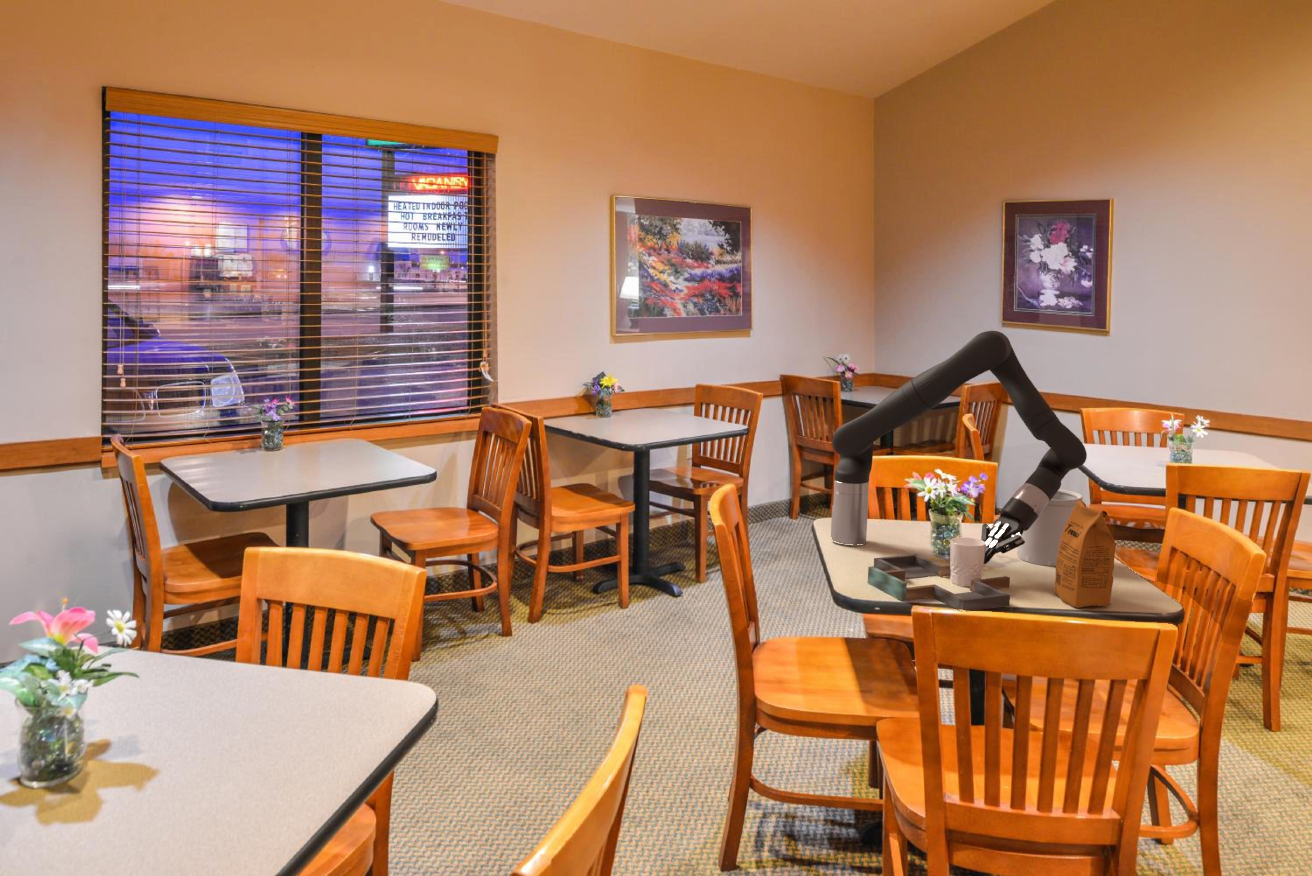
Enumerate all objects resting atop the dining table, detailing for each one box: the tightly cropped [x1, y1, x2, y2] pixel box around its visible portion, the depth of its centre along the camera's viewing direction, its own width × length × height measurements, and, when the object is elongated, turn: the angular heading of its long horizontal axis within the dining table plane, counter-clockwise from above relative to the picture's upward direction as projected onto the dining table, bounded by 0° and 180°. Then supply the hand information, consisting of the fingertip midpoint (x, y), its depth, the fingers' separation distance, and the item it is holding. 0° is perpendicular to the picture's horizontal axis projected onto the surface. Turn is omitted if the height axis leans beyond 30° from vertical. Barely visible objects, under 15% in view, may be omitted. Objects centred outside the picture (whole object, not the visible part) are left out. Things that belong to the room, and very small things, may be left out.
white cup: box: [949, 536, 986, 588], centre depth 215 cm, size 8×8×10 cm
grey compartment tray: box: [867, 553, 1011, 611], centre depth 213 cm, size 34×30×4 cm
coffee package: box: [1053, 499, 1116, 609], centre depth 202 cm, size 10×12×22 cm
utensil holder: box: [1016, 488, 1084, 567], centre depth 235 cm, size 15×15×18 cm
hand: (980, 561), depth 216 cm, fingers closed
